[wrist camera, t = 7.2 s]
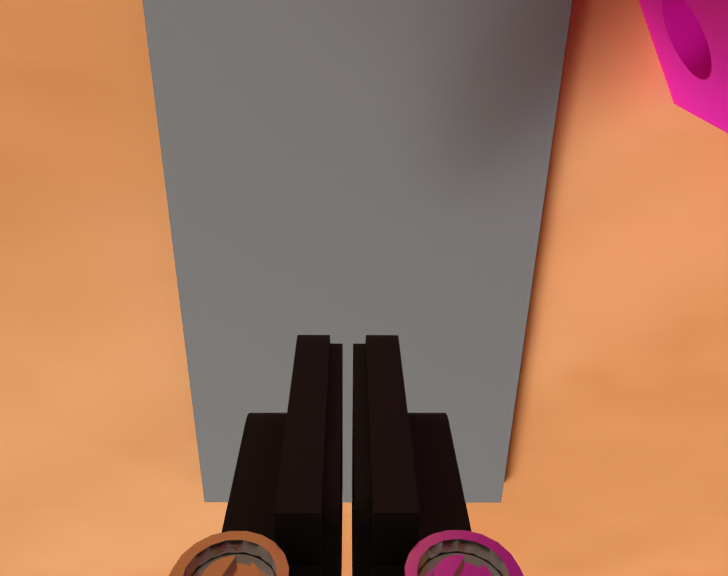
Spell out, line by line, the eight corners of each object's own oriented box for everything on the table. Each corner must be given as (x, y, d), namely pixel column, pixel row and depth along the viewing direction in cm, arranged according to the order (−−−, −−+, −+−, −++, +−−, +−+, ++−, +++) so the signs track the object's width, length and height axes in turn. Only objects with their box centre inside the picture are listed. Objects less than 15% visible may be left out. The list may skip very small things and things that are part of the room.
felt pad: (131, -164, 14) (122, -168, 13) (585, -155, 14) (594, -158, 13) (208, 487, 21) (204, 502, 21) (497, 488, 22) (500, 502, 21)
